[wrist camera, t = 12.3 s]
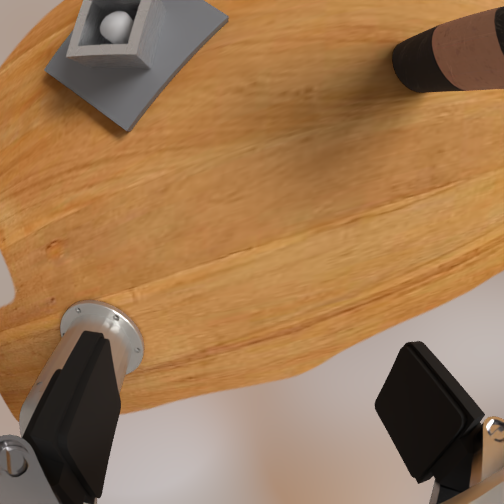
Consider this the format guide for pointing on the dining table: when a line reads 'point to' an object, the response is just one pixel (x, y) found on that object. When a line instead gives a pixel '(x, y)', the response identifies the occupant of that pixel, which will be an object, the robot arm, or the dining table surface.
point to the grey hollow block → (116, 55)
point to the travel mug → (455, 55)
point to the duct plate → (137, 79)
